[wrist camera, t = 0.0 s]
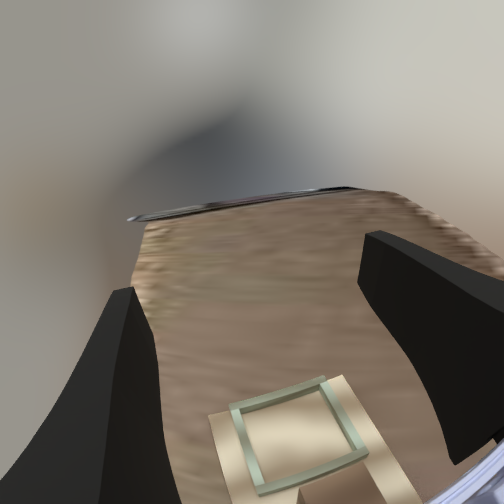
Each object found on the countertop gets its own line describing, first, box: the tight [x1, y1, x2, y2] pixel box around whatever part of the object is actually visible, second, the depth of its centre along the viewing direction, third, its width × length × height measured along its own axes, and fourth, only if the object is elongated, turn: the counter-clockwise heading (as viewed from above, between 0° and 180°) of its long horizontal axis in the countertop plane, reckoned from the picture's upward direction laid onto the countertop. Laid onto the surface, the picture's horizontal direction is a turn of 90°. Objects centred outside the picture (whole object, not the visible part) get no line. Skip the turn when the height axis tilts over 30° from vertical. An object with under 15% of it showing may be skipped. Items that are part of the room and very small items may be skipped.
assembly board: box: [208, 375, 423, 504], centre depth 20 cm, size 18×14×2 cm
